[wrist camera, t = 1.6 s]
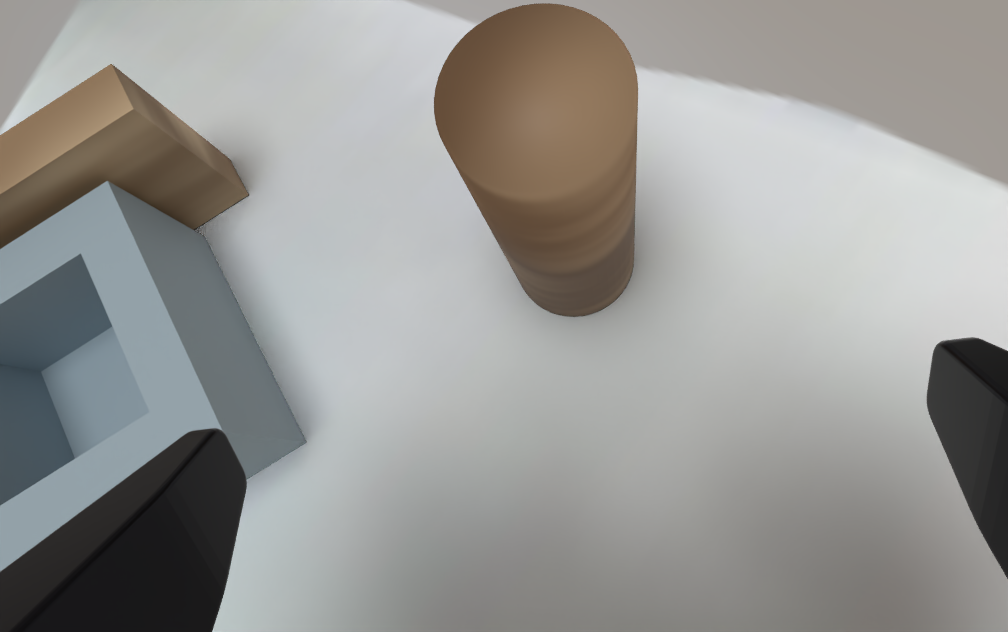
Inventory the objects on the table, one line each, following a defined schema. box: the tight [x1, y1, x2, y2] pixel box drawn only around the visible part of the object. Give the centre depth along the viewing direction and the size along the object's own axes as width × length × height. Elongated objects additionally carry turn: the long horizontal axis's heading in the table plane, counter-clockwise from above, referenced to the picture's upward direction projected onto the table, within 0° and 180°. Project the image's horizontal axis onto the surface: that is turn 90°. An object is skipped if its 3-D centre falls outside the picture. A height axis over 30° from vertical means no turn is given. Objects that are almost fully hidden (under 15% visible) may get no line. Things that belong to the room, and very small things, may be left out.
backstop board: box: [0, 64, 248, 249], centre depth 22 cm, size 2×12×6 cm, turn 121°
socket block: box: [0, 181, 306, 571], centre depth 22 cm, size 8×8×5 cm
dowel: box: [434, 4, 638, 317], centre depth 18 cm, size 4×4×10 cm
